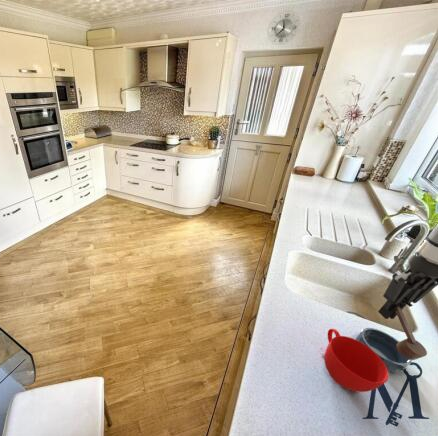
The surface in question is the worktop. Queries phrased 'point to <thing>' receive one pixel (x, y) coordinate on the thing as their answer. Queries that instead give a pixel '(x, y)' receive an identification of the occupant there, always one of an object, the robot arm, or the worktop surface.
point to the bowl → (384, 348)
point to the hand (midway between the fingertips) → (385, 315)
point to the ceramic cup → (353, 364)
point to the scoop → (409, 341)
